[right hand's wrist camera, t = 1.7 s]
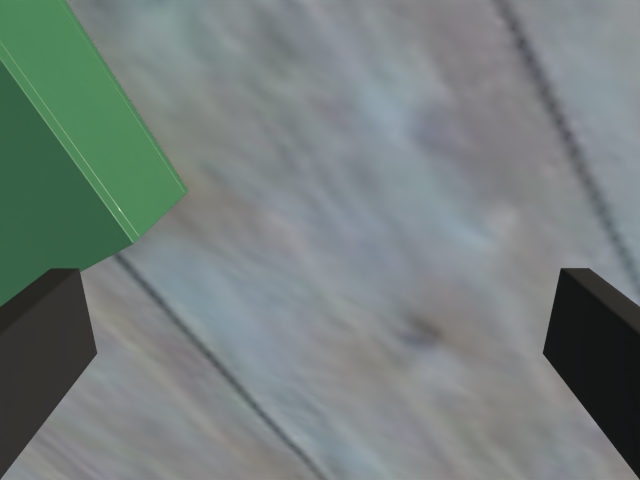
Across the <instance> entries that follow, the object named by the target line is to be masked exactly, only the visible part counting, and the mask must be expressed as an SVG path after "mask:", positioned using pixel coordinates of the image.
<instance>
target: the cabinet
mask: <svg viewBox="0 0 640 480" xmlns="http://www.w3.org/2000/svg"><path fill="white" fill-rule="evenodd" d="M187 192H188V190H187V188H186V187H185V185H184V184H183V182H182V181H181V179H180V178H179V176H178V174H177V173H176V171H175V170H174V168H173V167H172V165H171V164H170V162H169V161H168V159H167V157H166V156H165V154H164V153H163V151H162V150H161V148H160V147H159V145H158V143H157V142H156V140H155V139H154V137H153V136H152V134H151V133H150V131H149V130H148V128H147V126H146V125H145V123H144V122H143V120H142V119H141V117H140V116H139V114H138V113H137V111H136V109H135V108H134V106H133V105H132V103H131V102H130V100H129V99H128V97H127V96H126V94H125V92H124V91H123V89H122V88H121V86H120V85H119V83H118V82H117V80H116V79H115V77H114V75H113V74H112V72H111V71H110V69H109V68H108V66H107V65H106V63H105V62H104V60H103V58H102V57H101V55H100V54H99V52H98V51H97V49H96V48H95V46H94V45H93V43H92V41H91V40H90V38H89V37H88V35H87V34H86V32H85V31H84V29H83V28H82V26H81V24H80V23H79V21H78V20H77V18H76V17H75V15H74V14H73V12H72V10H71V9H70V7H69V6H68V4H67V3H66V1H65V0H0V307H1V306H2V305H3V304H5V303H6V302H7V301H9V300H10V299H11V298H13V297H14V296H15V295H17V294H18V293H19V292H20V291H22V290H23V289H24V288H26V287H27V286H28V285H30V284H31V283H32V282H34V281H35V280H36V279H38V278H39V277H40V276H41V275H43V274H44V273H45V272H47V271H48V270H49V269H51V268H79V270H80V272H81V271H83V270H85V269H87V268H89V267H90V266H92V265H94V264H96V263H98V262H100V261H102V260H104V259H106V258H108V257H109V256H111V255H113V254H115V253H117V252H119V251H121V250H123V249H125V248H126V247H128V246H130V245H132V244H134V243H135V242H136V241H137V240H138V239H139V238H140V237H141V236H142V235H143V234H144V233H145V232H146V231H147V230H148V229H149V228H150V227H151V226H153V225H154V224H155V223H156V222H157V221H158V220H159V219H160V218H161V217H162V216H163V215H164V214H165V213H166V212H167V211H168V210H169V209H170V208H171V207H173V206H174V205H175V204H176V203H177V202H178V201H179V200H180V199H181V198H182V197H183V196H184V195H185V194H186V193H187Z"/></svg>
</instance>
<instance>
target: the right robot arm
mask: <svg viewBox="0 0 640 480" xmlns="http://www.w3.org/2000/svg"><path fill="white" fill-rule="evenodd" d="M96 354H97V350H96V345H95V341H94V336H93V331H92V327H91V322H90V317H89V313H88V308H87V303H86V299H85V294H84V289H83V284H82V280H81V275H80V270H79V268H51V269H49V270H48V271H47V272H45V273H44V274H43V275H41V276H40V277H39V278H38V279H36V280H35V281H34V282H32V283H31V284H30V285H28V286H27V287H26V288H24V289H23V290H22V291H20V292H19V293H18V294H17V295H15V296H14V297H13V298H11V299H10V300H9V301H7V302H6V303H5V304H3V305H2V306H1V307H0V479H1V478H2V477H3V475H4V474H5V473H6V471H7V470H8V469H9V467H10V466H11V465H12V464H13V462H14V461H15V460H16V458H17V457H18V456H19V454H20V453H21V452H22V451H23V449H24V448H25V447H26V445H27V444H28V443H29V441H30V440H31V439H32V438H33V436H34V435H35V434H36V432H37V431H38V430H39V428H40V427H41V426H42V425H43V423H44V422H45V421H46V419H47V418H48V417H49V415H50V414H51V413H52V412H53V410H54V409H55V408H56V406H57V405H58V404H59V402H60V401H61V400H62V398H63V397H64V396H65V395H66V393H67V392H68V391H69V389H70V388H71V387H72V385H73V384H74V383H75V382H76V380H77V379H78V378H79V376H80V375H81V374H82V372H83V371H84V370H85V369H86V367H87V366H88V365H89V363H90V362H91V361H92V359H93V358H94V357H95V356H96ZM543 354H544V356H545V357H546V358H547V359H548V361H549V362H550V363H551V365H552V366H553V367H554V369H555V370H556V371H557V372H558V374H559V375H560V376H561V378H562V379H563V380H564V382H565V383H566V384H567V385H568V387H569V388H570V389H571V391H572V392H573V393H574V395H575V396H576V397H577V398H578V400H579V401H580V402H581V404H582V405H583V406H584V408H585V409H586V410H587V412H588V413H589V414H590V415H591V417H592V418H593V419H594V421H595V422H596V423H597V425H598V426H599V427H600V428H601V430H602V431H603V432H604V434H605V435H606V436H607V438H608V439H609V440H610V441H611V443H612V444H613V445H614V447H615V448H616V449H617V451H618V452H619V453H620V454H621V456H622V457H623V458H624V460H625V461H626V462H627V464H628V465H629V466H630V467H631V469H632V470H633V471H634V473H635V474H636V475H637V477H638V478H639V479H640V307H639V306H638V305H637V304H635V303H634V302H633V301H631V300H630V299H629V298H627V297H626V296H625V295H623V294H622V293H621V292H620V291H618V290H617V289H616V288H614V287H613V286H612V285H610V284H609V283H608V282H606V281H605V280H604V279H602V278H601V277H600V276H599V275H597V274H596V273H595V272H593V271H592V270H591V269H589V268H561V270H560V275H559V280H558V284H557V289H556V294H555V298H554V303H553V308H552V313H551V317H550V322H549V327H548V331H547V336H546V341H545V345H544V350H543Z"/></svg>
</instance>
